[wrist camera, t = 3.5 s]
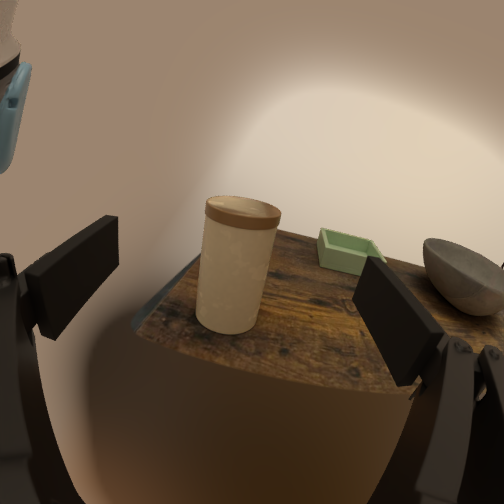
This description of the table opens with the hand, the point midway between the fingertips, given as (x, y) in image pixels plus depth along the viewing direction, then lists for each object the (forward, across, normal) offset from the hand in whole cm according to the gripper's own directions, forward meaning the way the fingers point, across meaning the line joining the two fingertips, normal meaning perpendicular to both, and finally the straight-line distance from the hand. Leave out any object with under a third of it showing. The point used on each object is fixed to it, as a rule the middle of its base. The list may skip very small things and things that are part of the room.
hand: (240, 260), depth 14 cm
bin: (+29, +19, -10) cm, 36 cm away
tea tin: (+10, 0, -11) cm, 15 cm away
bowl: (+19, +40, -11) cm, 45 cm away
